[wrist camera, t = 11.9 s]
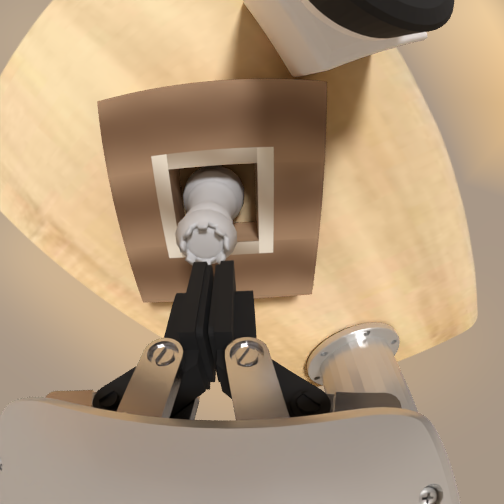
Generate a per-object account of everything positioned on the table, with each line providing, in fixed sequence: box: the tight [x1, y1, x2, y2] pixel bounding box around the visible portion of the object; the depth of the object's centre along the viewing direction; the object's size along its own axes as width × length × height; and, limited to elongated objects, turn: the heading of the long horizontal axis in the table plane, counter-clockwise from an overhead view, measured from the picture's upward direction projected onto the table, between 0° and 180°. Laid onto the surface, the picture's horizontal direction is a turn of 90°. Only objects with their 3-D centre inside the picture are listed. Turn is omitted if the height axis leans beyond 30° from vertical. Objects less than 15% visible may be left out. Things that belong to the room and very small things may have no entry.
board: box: [97, 79, 327, 302], centre depth 19 cm, size 16×14×3 cm
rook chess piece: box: [175, 165, 244, 266], centre depth 17 cm, size 4×4×8 cm
